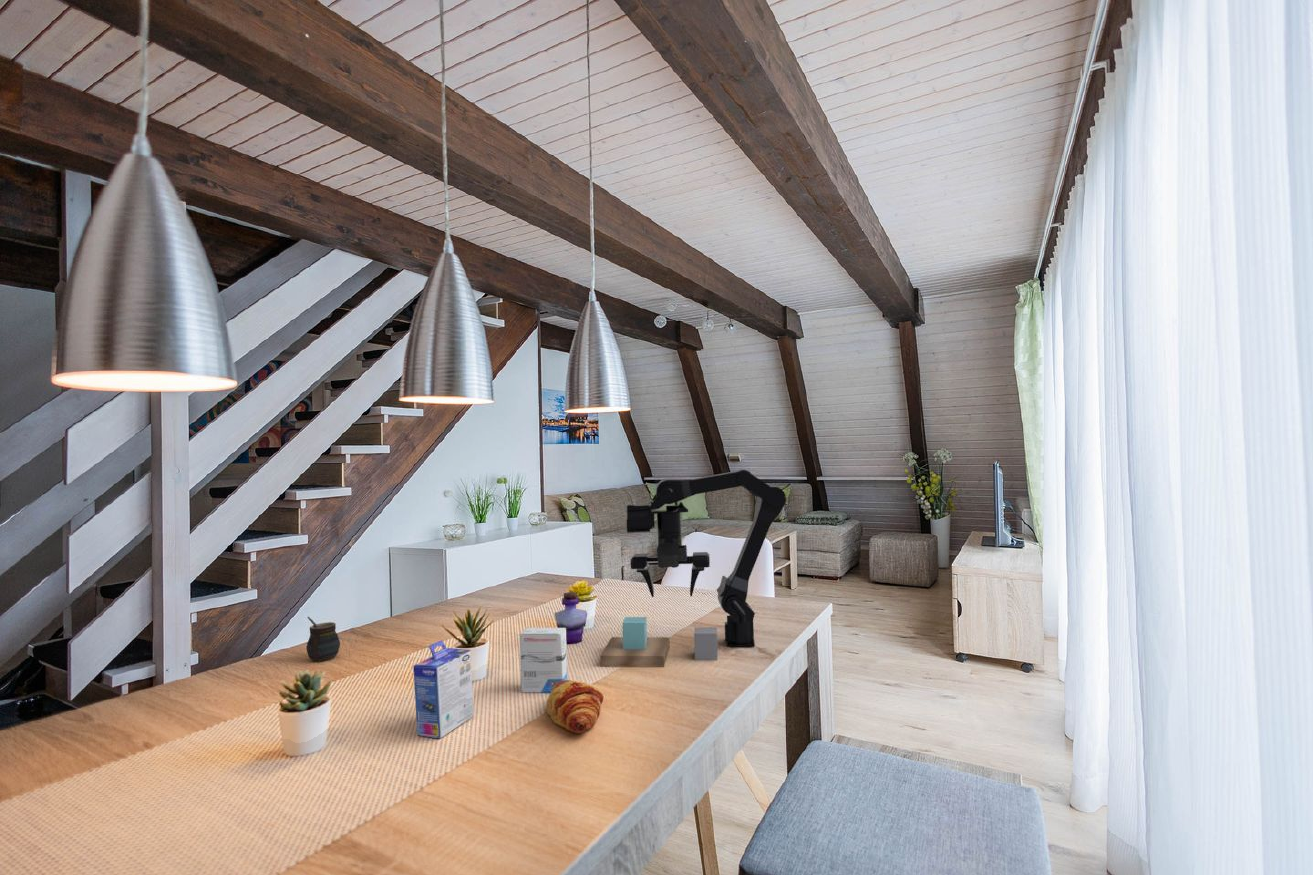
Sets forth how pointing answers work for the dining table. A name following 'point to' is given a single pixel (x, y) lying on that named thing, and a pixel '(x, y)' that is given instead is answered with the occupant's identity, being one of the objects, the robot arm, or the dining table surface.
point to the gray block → (705, 643)
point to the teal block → (634, 633)
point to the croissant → (574, 705)
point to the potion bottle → (571, 618)
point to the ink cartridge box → (443, 691)
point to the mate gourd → (322, 641)
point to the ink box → (542, 658)
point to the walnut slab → (635, 653)
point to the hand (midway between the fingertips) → (671, 596)
